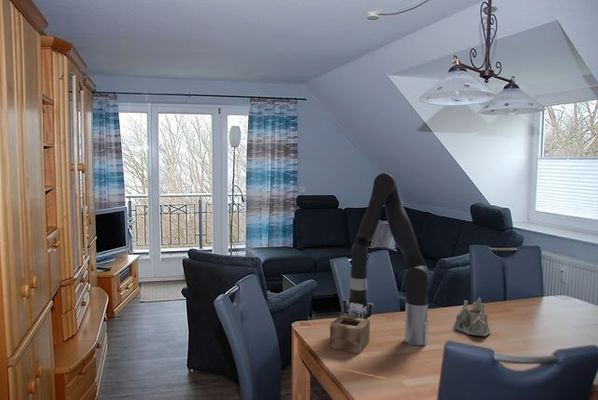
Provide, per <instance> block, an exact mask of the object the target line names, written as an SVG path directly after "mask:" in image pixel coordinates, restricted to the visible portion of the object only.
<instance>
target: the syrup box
mask: <svg viewBox="0 0 598 400" xmlns="http://www.w3.org/2000/svg"><path fill="white" fill-rule="evenodd" d="M349 304H350V305H349V311H350V317H356V318H362V319H363V318H364V316H363V310H365V308H366V309H367V306H366V307H365V308H363V304H359V303H355V304H354V303H353V302H351V303H349Z"/></svg>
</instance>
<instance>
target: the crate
mask: <svg viewBox="0 0 598 400" xmlns="http://www.w3.org/2000/svg"><path fill="white" fill-rule="evenodd" d="M370 327H371V320H370V319H362V318H356V317H350V316H348V315H342V314H340V315H339V316H338V317H337V318H336V319H335V320H334V321H332V322H331V323H330V324H329V349H335V350H338V351H339V350H340V351H343V352H344V351H345V352H349V353H354V354H359V355H360V354H361V353H362V352H364V351H363V350H364V349H366V347H367V346H368V345H369V344H370V330H371V328H370Z"/></svg>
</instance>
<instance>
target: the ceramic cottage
mask: <svg viewBox="0 0 598 400" xmlns="http://www.w3.org/2000/svg"><path fill="white" fill-rule="evenodd" d="M455 315H456V316H455V318H456V319H455V320H456V321H455V322H454V323H453V328H454V329H455V330H458V331H460V332H463V333H465V334H466V335H471V336H478V337H486V336H488V335H490V334H491V328H490V327H489V323H488V314H487V313H485V303H482V298H481V297H478V299H476V301H475V302H474V301H473V303H472V309H469V301H468V300H463V307H461V309H460V310H459V311H458V312H457V313H456V314H455Z"/></svg>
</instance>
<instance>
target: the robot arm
mask: <svg viewBox="0 0 598 400" xmlns="http://www.w3.org/2000/svg"><path fill="white" fill-rule="evenodd" d="M371 191H372V192H371V196H370V200H369V204H368V205H367V208H366V211H365V213H364V215H363V217H362V220H361V223H360V225H359V228H358V230H357V231H358V232H357V234H356V237H355V239H354V240H353V243H352V244H351V249H350V250H351V266H350V281H349V299H346V298H345V299H344V300H343V301H342V305H343V312H344V314H346V315H347V316H350V309H349V304H350V303H351V302H353V303H354V304H355V303H359V304H363V308H365V307H366V308H365V310H363V316H364V318H363V319H368V318H371V316H372V315H373V310H374V305H375V304H374V302H368V280H367V279H368V272H367V270H368V267H367V266H368V255H369V254H368V253H369V250H368V249H369V246H370V243H371V241H372V240H373V238H374V236H375V234H376V231H377V228H378V225H379V222H380V219H381V215H382V212H383V208H384V209H385V213H386V219H387V223H388V227H389V228H388V229H389V230H390V233H391V236H392V239H393V241H394V243H395V244H396V246H397V248H398V249H399V251H400V253H402V255H403V257H404V260H405V263H406V267H407V271H406V273H405V281H404V283H405V284H404V285H405V286H404V290H405V291H404V293H405V294H404V295H405V316H404V318H405V319H404V321H405V322H404V342H405V343H406V344H409V345H412V346H426V345H427V343H428V340H429V339H428V337H429V319H428V316H429V315H428V312H429V297H428V290H429V289H428V285H429V284H428V283H429V280H430V278H431V274H430V270H429V268H428V266H427V264H426V262H425V260H424V258H423V256H422V253H421V251H420V248H419V245H418V244H419V243H418V241H417V237H416V235H415V231H414V229H413V226H412V223H411V220H410V219H409V216H408V214H407V212H406V209H405V208H404V206H403V204H402V201H401V199H400V196H399V191H398V188H397V182H396V180H395V178H394V176H393V175H391V174H389V173H386V172H382V173H380V174H378V175H377V176H375V178H374V180H373V185H372V190H371ZM367 308H368V311H367ZM368 320H369V319H368Z"/></svg>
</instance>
